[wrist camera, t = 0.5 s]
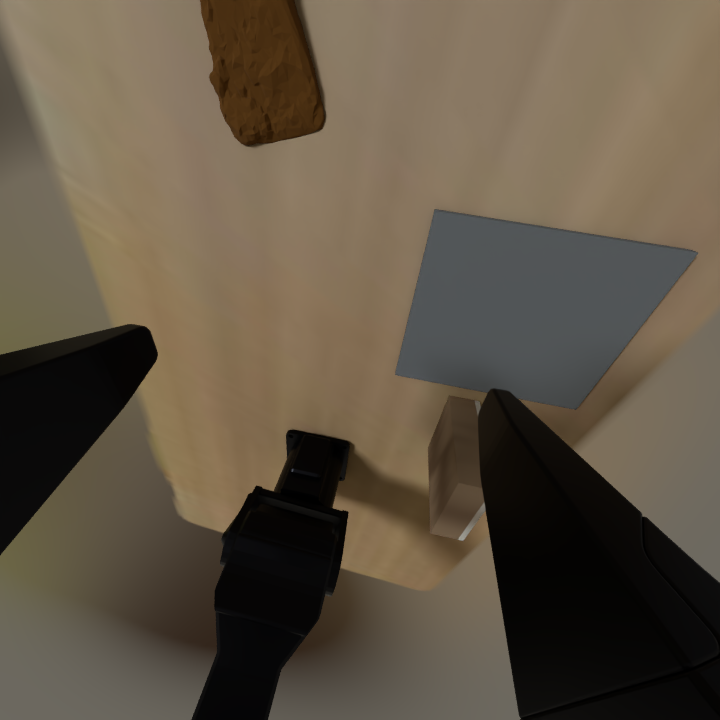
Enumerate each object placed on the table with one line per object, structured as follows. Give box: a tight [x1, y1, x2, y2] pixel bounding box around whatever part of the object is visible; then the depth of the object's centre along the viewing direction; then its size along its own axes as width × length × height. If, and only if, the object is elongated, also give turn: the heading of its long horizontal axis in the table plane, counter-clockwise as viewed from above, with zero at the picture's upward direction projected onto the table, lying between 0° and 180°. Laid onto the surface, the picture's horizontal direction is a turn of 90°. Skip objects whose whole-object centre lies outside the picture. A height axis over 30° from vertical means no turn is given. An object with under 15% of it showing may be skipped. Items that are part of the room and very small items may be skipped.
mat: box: [395, 209, 698, 410], centre depth 20 cm, size 12×14×1 cm
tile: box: [428, 396, 485, 541], centre depth 24 cm, size 7×2×8 cm, turn 173°
